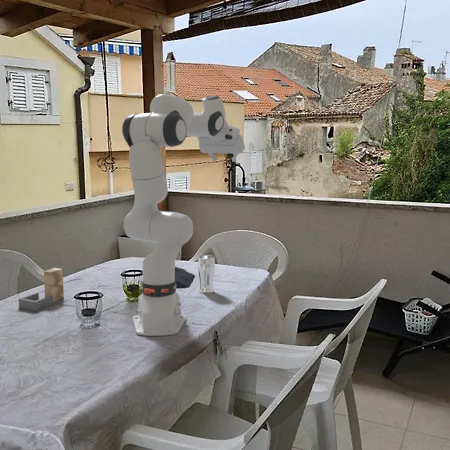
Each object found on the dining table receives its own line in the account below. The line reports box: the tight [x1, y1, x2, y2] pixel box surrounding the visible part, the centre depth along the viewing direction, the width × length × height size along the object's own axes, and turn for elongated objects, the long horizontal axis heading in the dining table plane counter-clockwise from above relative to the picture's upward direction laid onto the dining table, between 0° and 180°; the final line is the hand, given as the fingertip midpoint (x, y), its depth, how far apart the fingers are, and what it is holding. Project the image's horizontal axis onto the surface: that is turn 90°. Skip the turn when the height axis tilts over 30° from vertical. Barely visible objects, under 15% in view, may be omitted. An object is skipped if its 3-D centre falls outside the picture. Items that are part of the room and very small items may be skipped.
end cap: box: [18, 292, 54, 312], centre depth 192 cm, size 9×8×4 cm
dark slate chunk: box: [175, 266, 196, 289], centre depth 228 cm, size 15×22×5 cm
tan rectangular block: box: [43, 267, 65, 303], centre depth 200 cm, size 6×4×12 cm, turn 154°
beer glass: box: [197, 254, 216, 294], centre depth 211 cm, size 7×7×15 cm
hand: (224, 160), depth 220 cm, fingers open, 8 cm apart
